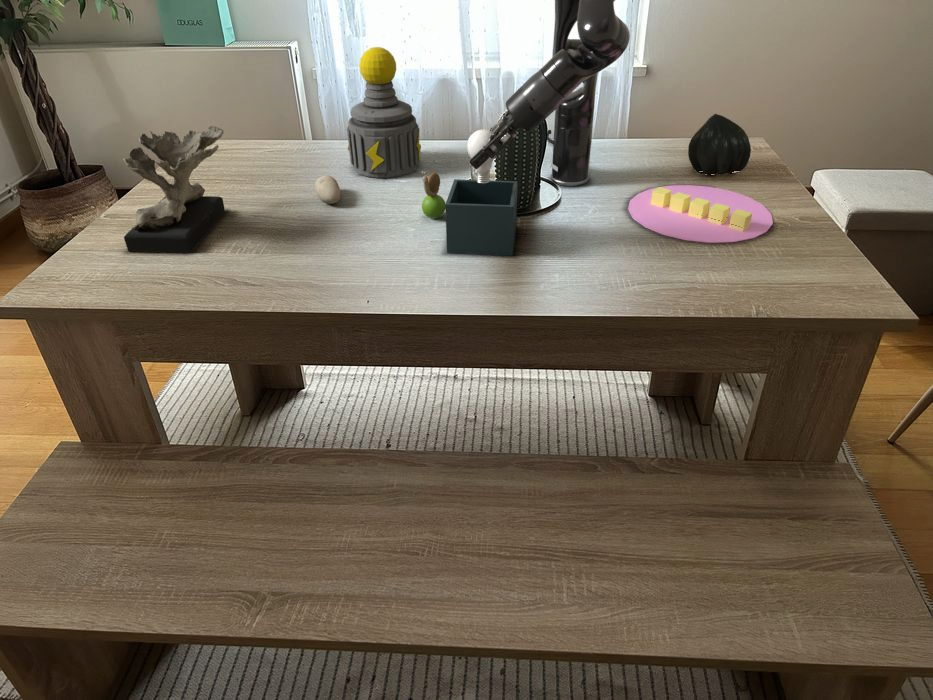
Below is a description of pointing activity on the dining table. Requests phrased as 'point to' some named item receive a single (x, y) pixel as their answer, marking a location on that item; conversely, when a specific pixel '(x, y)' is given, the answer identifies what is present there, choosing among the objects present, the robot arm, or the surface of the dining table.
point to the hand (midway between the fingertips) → (475, 159)
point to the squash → (719, 147)
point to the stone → (328, 189)
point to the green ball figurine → (432, 196)
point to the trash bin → (481, 217)
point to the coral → (174, 193)
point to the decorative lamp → (382, 123)
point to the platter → (700, 213)
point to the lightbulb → (474, 147)
